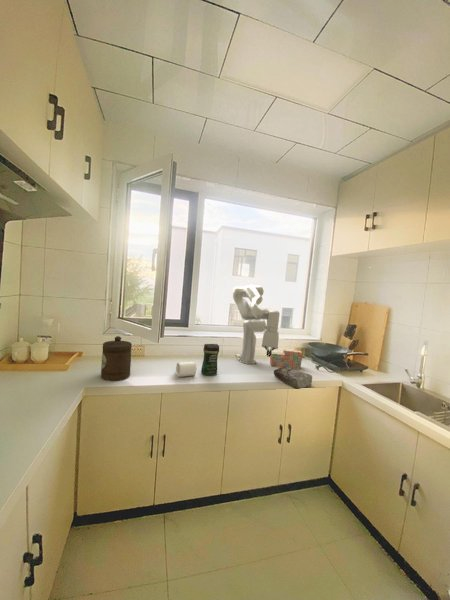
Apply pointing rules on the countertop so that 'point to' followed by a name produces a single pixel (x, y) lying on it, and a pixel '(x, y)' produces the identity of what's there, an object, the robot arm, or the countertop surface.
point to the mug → (186, 369)
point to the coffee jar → (210, 359)
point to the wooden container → (116, 360)
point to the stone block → (293, 377)
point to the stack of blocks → (286, 358)
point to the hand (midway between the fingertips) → (268, 356)
